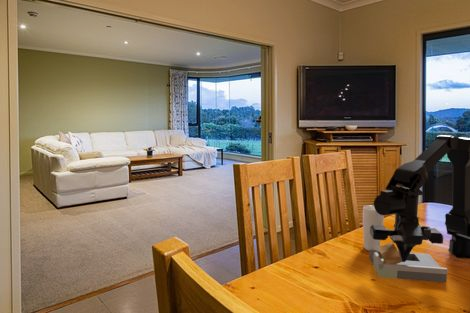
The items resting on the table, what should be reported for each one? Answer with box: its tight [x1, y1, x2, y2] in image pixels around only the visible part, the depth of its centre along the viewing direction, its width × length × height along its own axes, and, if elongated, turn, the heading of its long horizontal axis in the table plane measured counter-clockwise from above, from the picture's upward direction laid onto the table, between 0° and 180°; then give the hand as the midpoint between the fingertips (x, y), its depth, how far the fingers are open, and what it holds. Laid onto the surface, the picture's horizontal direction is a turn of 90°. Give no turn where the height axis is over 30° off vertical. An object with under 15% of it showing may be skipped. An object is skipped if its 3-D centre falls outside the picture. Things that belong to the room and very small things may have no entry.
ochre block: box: [378, 241, 403, 264], centre depth 101 cm, size 4×4×4 cm
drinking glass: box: [362, 204, 385, 252], centre depth 117 cm, size 7×7×15 cm
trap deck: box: [368, 250, 448, 283], centre depth 103 cm, size 18×14×4 cm
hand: (403, 261), depth 100 cm, fingers closed
